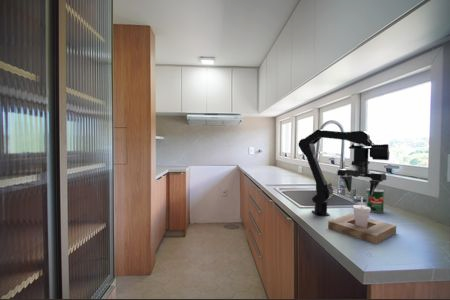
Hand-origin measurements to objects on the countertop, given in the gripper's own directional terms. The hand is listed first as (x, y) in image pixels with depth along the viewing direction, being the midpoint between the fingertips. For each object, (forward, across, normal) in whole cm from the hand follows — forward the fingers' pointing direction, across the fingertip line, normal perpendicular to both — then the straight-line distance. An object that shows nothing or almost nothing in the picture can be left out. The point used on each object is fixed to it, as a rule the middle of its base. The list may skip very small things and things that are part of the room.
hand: (359, 193), depth 103 cm
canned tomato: (+13, -4, +26) cm, 29 cm away
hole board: (+13, +6, -10) cm, 17 cm away
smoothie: (+13, +6, -10) cm, 17 cm away
